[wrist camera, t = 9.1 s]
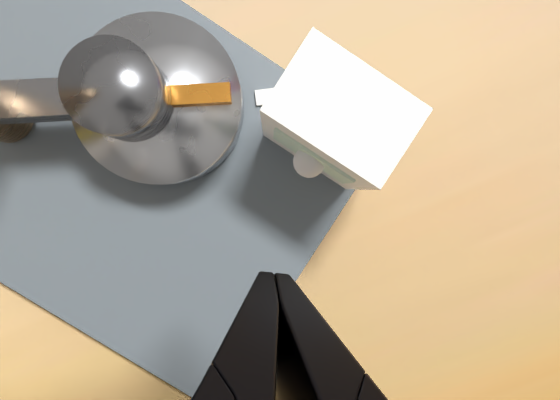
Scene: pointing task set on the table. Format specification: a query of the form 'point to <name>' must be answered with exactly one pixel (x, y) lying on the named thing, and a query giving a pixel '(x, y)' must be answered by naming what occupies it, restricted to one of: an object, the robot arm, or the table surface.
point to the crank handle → (139, 99)
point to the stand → (186, 190)
